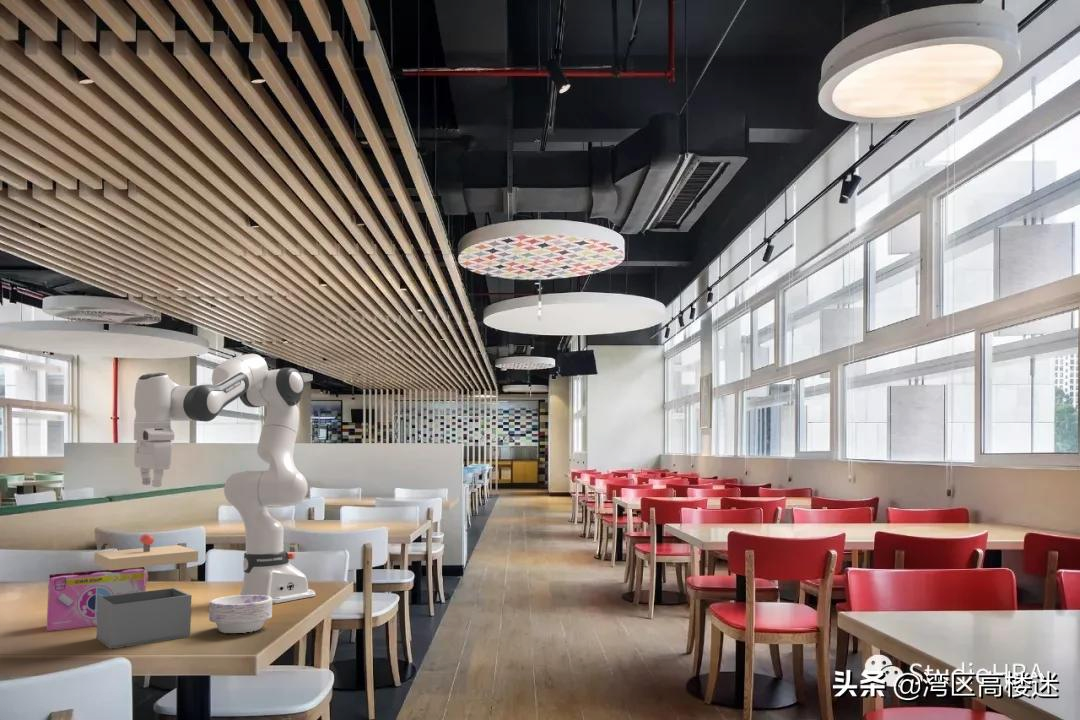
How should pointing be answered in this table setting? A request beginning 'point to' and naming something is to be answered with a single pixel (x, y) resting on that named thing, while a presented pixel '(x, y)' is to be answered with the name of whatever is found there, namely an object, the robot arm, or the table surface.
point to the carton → (143, 617)
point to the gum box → (87, 594)
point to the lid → (145, 556)
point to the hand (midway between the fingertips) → (151, 485)
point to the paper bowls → (240, 612)
